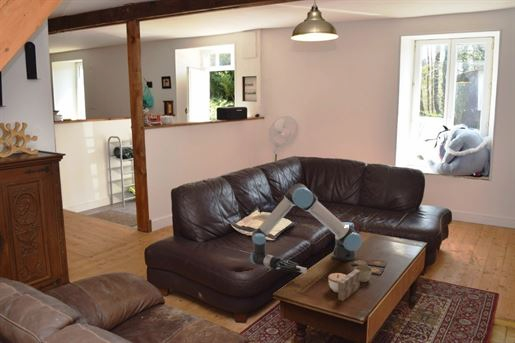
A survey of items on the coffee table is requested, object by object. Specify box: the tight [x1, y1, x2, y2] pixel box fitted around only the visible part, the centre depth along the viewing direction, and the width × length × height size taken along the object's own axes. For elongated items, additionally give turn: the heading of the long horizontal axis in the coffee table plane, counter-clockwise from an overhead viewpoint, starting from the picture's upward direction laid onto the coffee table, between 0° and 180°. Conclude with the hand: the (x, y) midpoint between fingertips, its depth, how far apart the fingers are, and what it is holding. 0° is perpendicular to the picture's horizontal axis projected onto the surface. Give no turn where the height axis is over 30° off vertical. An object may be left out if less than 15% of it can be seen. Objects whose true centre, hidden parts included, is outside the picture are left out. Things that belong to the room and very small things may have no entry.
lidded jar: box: [328, 272, 348, 293], centre depth 248 cm, size 11×11×9 cm
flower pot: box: [354, 265, 373, 283], centre depth 260 cm, size 10×10×7 cm
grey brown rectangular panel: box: [337, 268, 361, 302], centre depth 244 cm, size 20×3×10 cm, turn 143°
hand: (306, 270), depth 260 cm, fingers closed
